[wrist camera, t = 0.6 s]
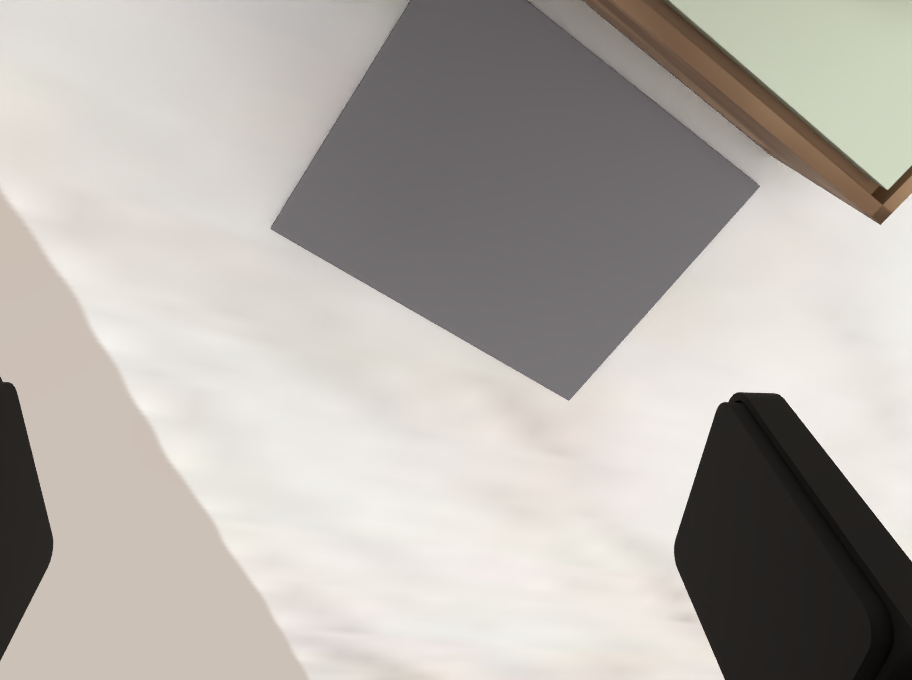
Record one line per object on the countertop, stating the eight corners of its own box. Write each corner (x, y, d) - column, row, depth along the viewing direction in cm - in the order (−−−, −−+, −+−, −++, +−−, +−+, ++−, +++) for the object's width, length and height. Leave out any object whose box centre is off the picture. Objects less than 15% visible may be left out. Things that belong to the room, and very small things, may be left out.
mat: (448, -62, 33) (449, -61, 33) (756, 183, 40) (760, 186, 40) (271, 226, 39) (270, 229, 39) (567, 397, 46) (568, 400, 46)
